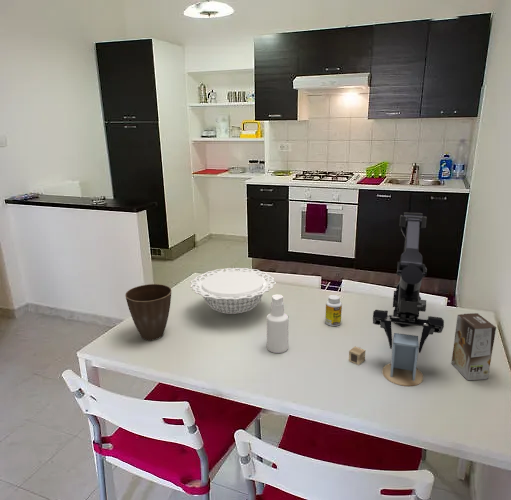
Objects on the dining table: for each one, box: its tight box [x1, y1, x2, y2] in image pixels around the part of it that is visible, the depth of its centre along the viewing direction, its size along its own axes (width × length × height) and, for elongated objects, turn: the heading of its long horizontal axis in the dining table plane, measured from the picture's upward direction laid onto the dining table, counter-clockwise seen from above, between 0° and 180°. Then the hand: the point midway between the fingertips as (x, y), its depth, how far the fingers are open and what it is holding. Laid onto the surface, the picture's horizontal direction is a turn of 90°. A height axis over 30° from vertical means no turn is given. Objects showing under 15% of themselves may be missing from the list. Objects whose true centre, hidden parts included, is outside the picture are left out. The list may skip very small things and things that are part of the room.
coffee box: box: [451, 312, 497, 381], centre depth 119 cm, size 9×6×16 cm
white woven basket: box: [189, 267, 277, 315], centre depth 158 cm, size 32×32×13 cm
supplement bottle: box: [324, 294, 343, 327], centre depth 149 cm, size 6×6×10 cm
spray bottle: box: [266, 293, 289, 354], centre depth 132 cm, size 7×7×18 cm
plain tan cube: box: [348, 346, 366, 366], centre depth 127 cm, size 4×4×4 cm
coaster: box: [381, 363, 424, 387], centre depth 120 cm, size 11×11×1 cm
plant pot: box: [124, 283, 172, 341], centre depth 142 cm, size 15×15×16 cm
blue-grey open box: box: [390, 332, 420, 381], centre depth 118 cm, size 6×6×11 cm
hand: (405, 350), depth 116 cm, fingers open, 7 cm apart
